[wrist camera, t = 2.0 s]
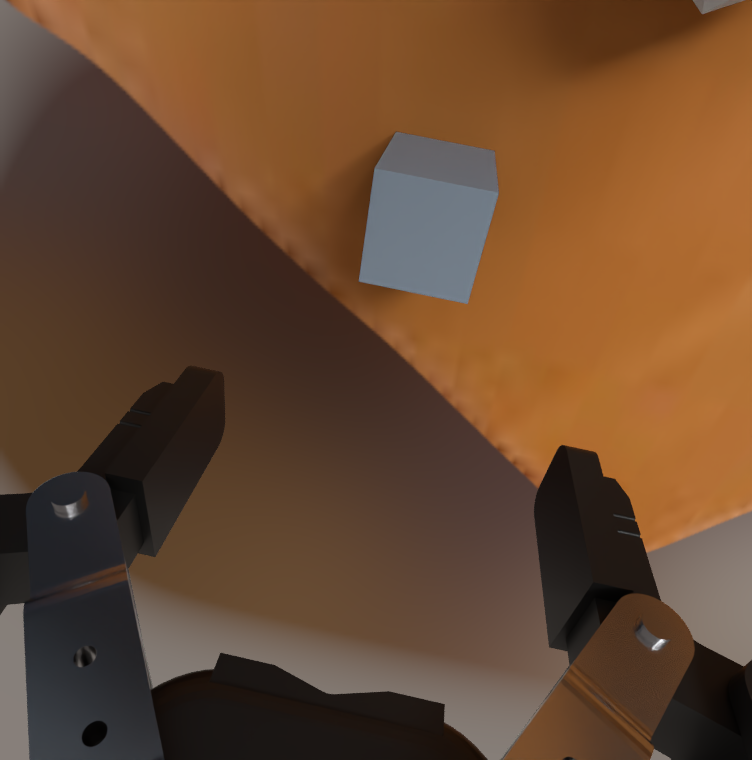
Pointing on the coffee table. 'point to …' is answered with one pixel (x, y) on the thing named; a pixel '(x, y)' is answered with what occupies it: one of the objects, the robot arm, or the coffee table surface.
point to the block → (429, 216)
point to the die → (713, 4)
